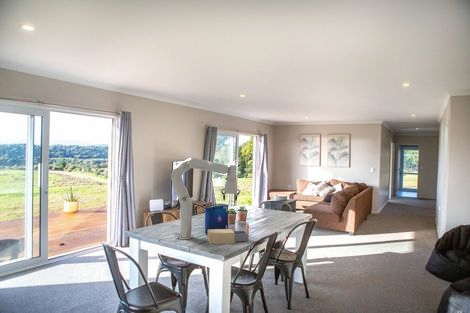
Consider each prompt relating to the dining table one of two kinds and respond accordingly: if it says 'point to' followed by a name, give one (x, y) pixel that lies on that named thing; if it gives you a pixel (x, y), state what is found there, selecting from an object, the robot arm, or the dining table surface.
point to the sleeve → (220, 236)
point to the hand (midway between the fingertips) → (229, 200)
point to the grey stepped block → (242, 234)
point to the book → (216, 217)
